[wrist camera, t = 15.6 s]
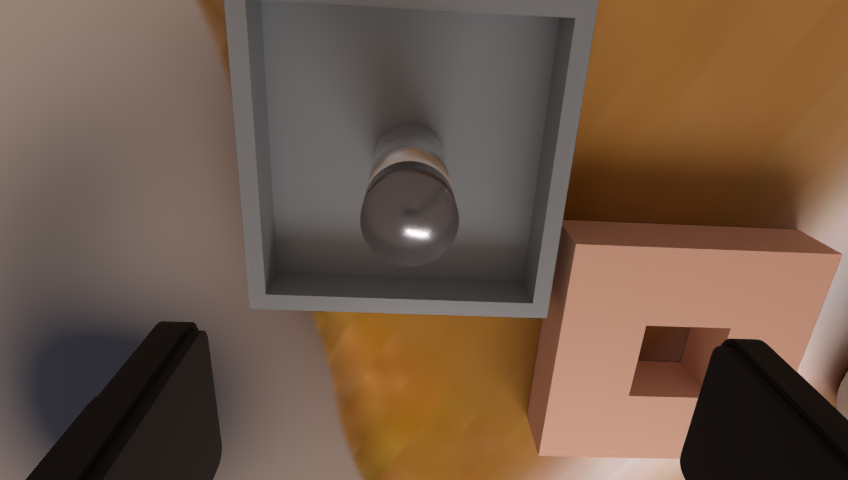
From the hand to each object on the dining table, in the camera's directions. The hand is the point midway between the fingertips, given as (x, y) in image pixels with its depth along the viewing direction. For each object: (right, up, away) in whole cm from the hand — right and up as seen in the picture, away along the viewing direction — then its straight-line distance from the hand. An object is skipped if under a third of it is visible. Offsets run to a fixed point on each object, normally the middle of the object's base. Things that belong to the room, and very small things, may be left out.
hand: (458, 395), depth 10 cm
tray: (-2, +8, +23) cm, 24 cm away
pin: (-2, +8, +22) cm, 23 cm away
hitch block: (+16, -3, +28) cm, 32 cm away
